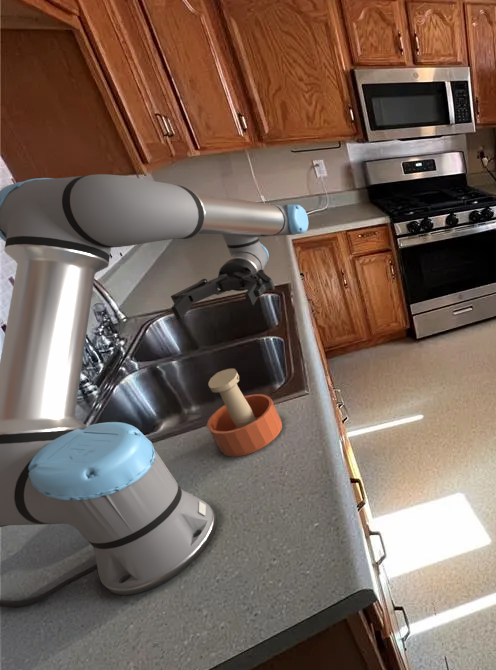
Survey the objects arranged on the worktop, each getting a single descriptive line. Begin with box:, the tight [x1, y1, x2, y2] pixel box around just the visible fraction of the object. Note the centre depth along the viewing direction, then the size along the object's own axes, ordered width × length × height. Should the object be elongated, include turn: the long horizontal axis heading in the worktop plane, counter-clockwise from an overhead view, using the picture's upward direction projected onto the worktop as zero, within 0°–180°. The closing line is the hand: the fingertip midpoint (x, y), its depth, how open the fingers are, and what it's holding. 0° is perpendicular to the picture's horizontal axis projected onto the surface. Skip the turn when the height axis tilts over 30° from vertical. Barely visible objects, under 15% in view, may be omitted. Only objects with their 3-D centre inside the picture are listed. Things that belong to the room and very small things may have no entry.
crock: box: [206, 393, 283, 457], centre depth 89 cm, size 12×12×6 cm
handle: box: [207, 368, 256, 428], centre depth 87 cm, size 5×6×15 cm
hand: (213, 306), depth 86 cm, fingers open, 13 cm apart
